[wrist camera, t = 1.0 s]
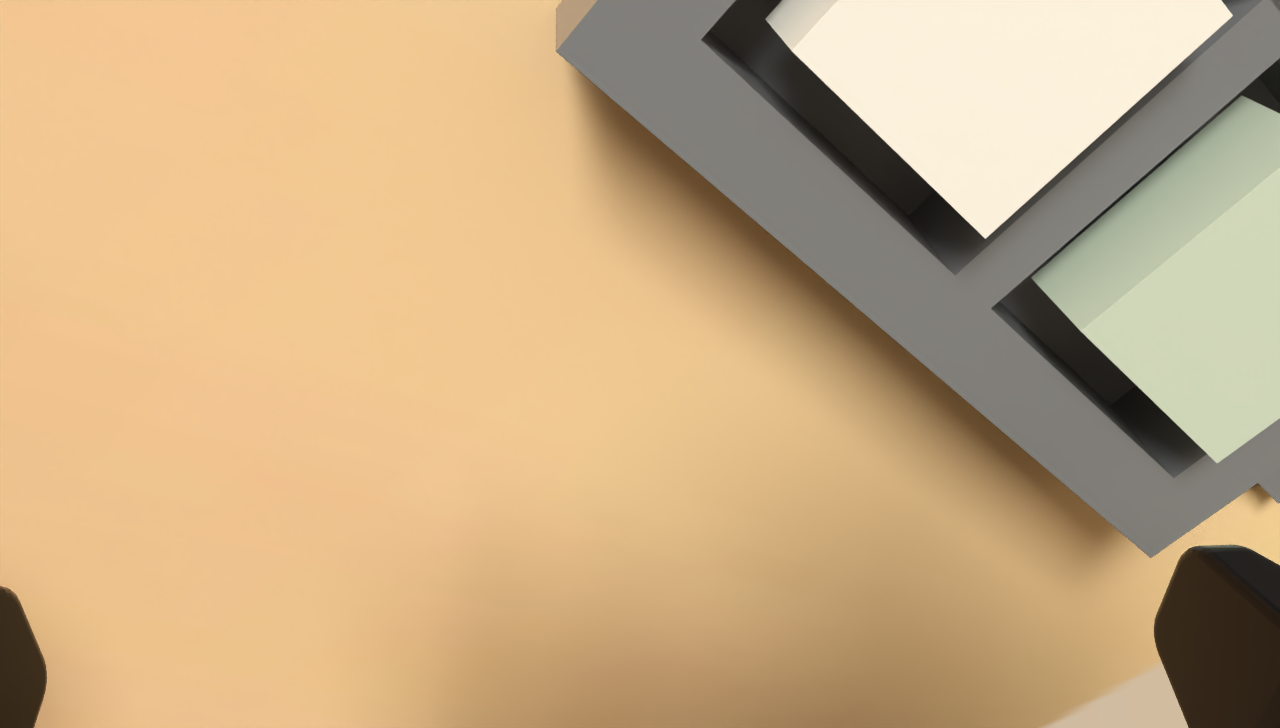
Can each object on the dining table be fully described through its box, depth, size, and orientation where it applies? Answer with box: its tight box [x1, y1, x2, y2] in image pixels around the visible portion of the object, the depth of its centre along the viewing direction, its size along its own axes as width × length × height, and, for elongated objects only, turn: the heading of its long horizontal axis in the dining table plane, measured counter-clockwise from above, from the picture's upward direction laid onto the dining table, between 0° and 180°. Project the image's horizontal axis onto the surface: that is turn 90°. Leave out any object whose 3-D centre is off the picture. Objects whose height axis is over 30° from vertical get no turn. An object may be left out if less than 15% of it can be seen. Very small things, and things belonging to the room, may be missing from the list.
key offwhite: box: [766, 0, 1233, 239], centre depth 14 cm, size 4×4×2 cm
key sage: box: [1031, 95, 1280, 463], centre depth 17 cm, size 4×4×2 cm
